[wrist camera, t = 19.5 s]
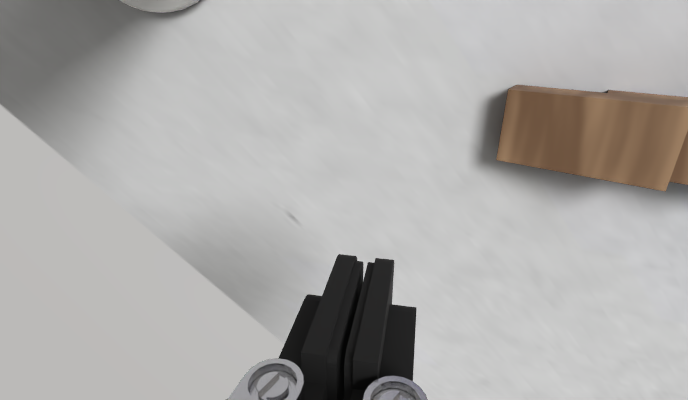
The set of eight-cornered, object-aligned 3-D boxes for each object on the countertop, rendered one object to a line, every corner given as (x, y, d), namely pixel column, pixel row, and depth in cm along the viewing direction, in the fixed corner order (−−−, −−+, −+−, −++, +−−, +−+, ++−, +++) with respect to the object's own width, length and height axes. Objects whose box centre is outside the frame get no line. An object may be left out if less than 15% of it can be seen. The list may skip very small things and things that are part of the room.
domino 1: (496, 160, 30) (665, 191, 25) (508, 89, 28) (695, 108, 23) (504, 151, 32) (664, 179, 27) (516, 84, 29) (692, 101, 24)
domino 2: (587, 167, 29) (778, 200, 24) (608, 95, 27) (822, 116, 22) (588, 158, 31) (765, 186, 26) (608, 90, 29) (804, 108, 24)
